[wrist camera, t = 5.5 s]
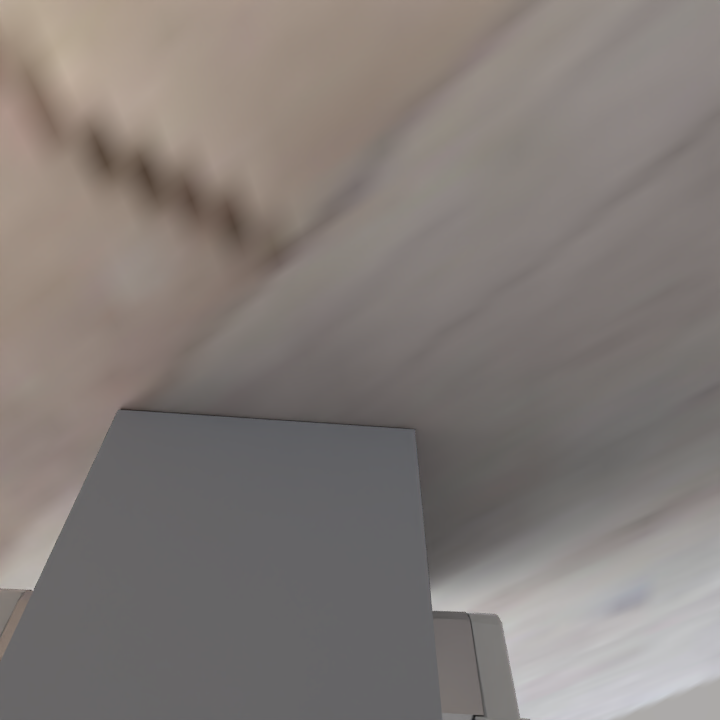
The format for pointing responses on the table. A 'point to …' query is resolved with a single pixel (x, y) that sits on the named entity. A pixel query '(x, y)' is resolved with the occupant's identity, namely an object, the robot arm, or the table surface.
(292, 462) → the block
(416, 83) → the table surface
